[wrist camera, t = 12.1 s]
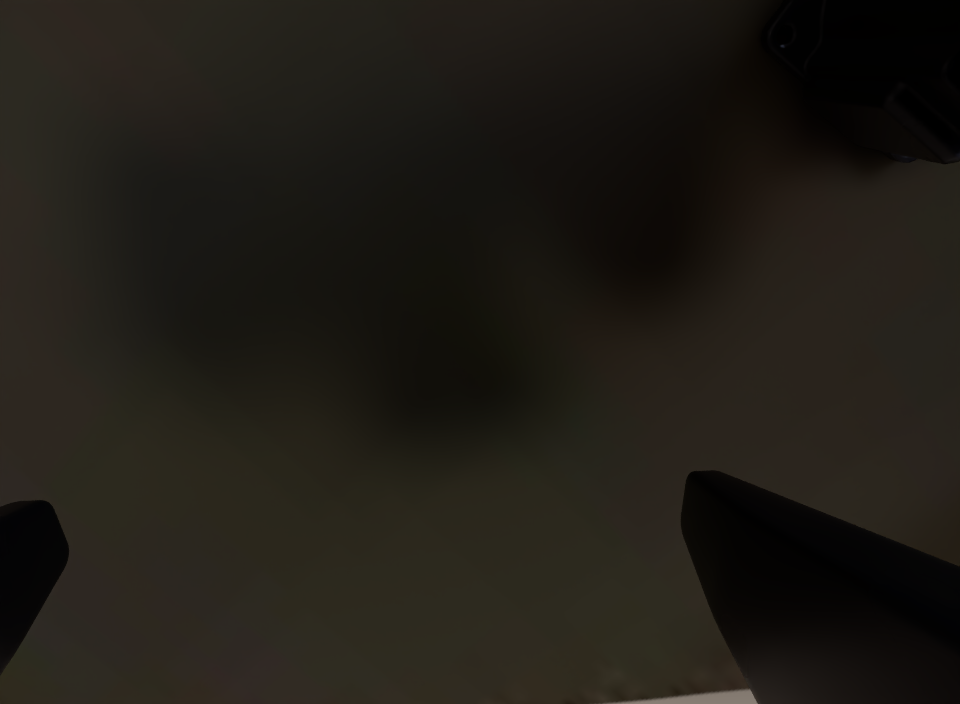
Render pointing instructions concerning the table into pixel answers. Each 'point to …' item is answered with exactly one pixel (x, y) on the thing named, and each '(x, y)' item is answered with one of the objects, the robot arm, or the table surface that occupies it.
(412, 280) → the table surface
